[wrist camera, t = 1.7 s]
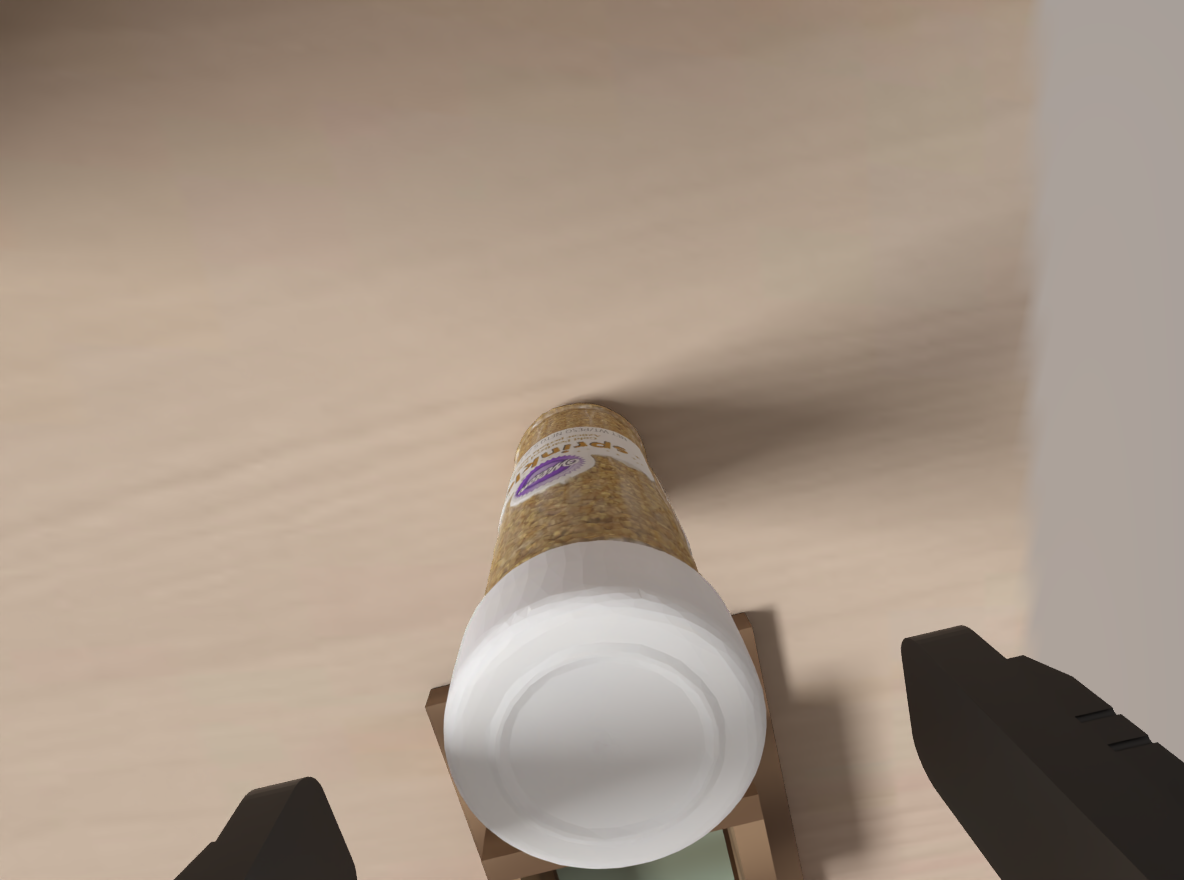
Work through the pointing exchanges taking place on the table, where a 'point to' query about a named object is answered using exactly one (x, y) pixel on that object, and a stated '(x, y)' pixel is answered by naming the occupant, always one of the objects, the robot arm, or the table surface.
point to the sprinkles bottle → (599, 663)
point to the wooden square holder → (694, 874)
